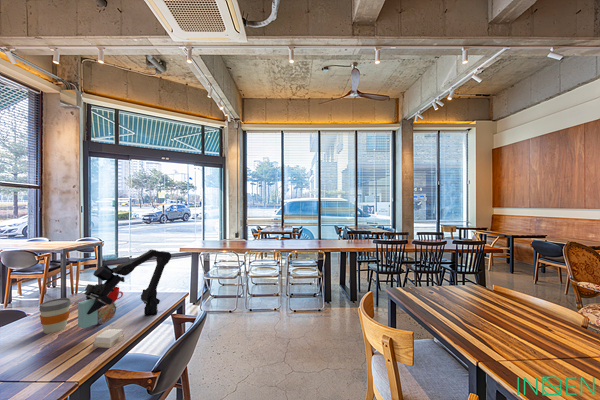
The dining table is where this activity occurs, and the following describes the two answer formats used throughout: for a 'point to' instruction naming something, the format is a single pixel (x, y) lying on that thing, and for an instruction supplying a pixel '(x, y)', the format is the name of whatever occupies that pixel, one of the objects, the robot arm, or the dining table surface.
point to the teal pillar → (83, 317)
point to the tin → (106, 313)
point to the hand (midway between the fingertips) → (84, 312)
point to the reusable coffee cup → (54, 314)
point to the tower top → (108, 336)
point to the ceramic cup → (114, 294)
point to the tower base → (108, 345)
